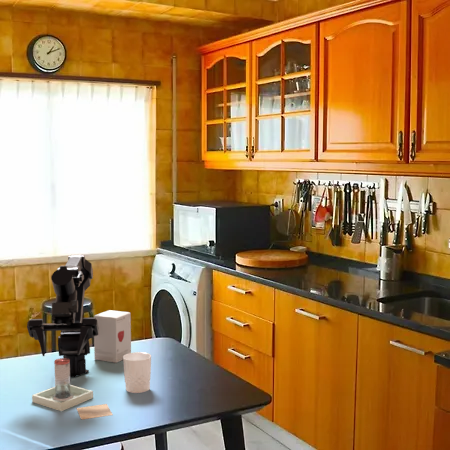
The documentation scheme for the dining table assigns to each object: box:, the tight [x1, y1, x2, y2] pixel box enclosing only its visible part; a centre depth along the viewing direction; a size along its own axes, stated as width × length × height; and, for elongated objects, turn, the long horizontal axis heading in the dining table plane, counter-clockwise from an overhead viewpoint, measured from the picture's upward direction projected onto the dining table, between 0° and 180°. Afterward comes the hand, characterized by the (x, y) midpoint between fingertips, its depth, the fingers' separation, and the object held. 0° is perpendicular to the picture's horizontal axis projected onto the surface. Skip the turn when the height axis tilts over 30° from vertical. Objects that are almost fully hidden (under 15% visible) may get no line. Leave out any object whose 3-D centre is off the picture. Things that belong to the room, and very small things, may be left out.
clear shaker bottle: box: [52, 357, 74, 403], centre depth 178 cm, size 6×6×11 cm
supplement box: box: [93, 309, 132, 364], centre depth 217 cm, size 9×9×15 cm
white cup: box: [122, 351, 152, 394], centre depth 187 cm, size 8×8×10 cm
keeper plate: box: [76, 403, 113, 420], centre depth 171 cm, size 8×8×1 cm
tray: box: [31, 384, 94, 412], centre depth 179 cm, size 11×11×2 cm
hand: (60, 355), depth 176 cm, fingers open, 9 cm apart
